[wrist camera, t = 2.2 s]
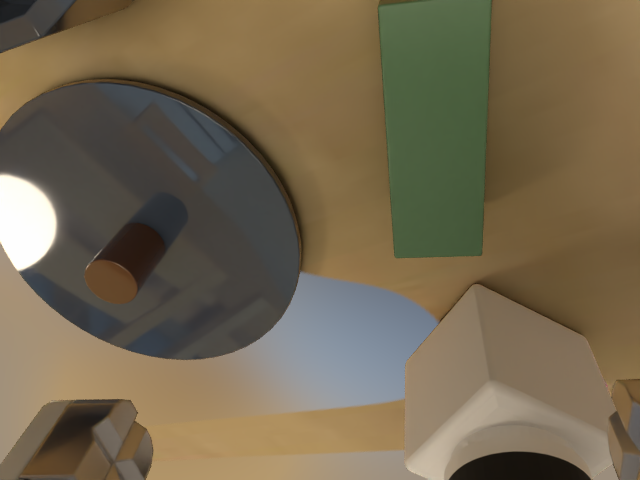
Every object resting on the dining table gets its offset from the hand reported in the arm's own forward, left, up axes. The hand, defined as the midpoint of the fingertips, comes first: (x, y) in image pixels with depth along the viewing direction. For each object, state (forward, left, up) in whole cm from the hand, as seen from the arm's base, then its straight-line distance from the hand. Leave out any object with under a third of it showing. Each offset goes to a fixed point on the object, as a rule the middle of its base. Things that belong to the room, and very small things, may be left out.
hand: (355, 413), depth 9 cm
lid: (+13, +6, -16) cm, 21 cm away
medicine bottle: (-5, +14, -17) cm, 23 cm away
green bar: (-2, 0, -17) cm, 17 cm away
